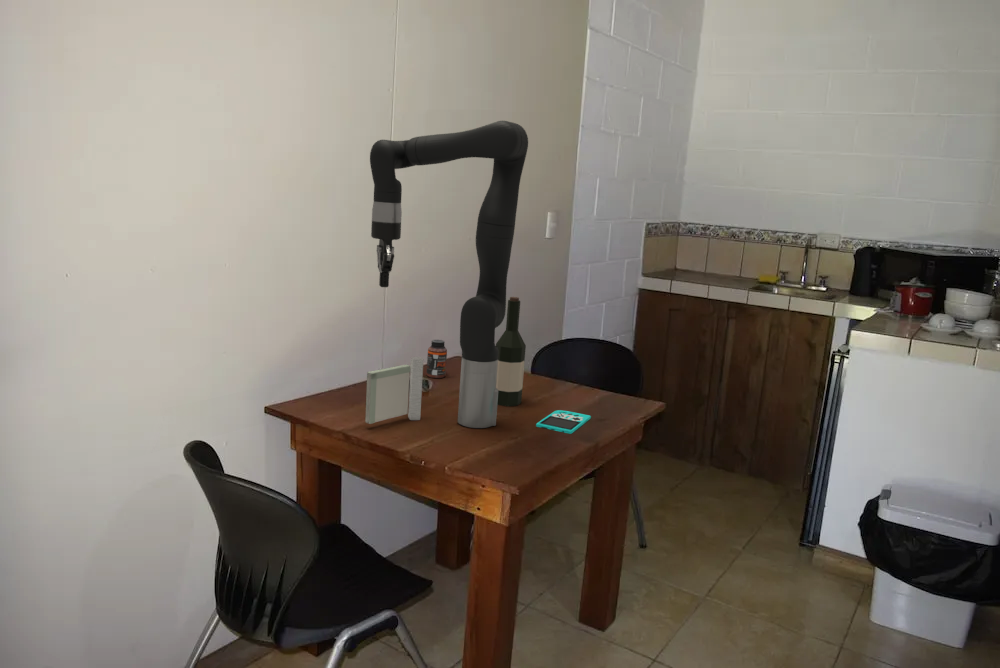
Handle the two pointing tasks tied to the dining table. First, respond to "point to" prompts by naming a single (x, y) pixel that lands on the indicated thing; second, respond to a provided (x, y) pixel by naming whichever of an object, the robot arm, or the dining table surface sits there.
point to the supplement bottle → (436, 359)
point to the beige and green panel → (387, 393)
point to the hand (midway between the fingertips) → (383, 286)
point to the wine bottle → (510, 358)
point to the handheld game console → (563, 421)
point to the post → (415, 388)
